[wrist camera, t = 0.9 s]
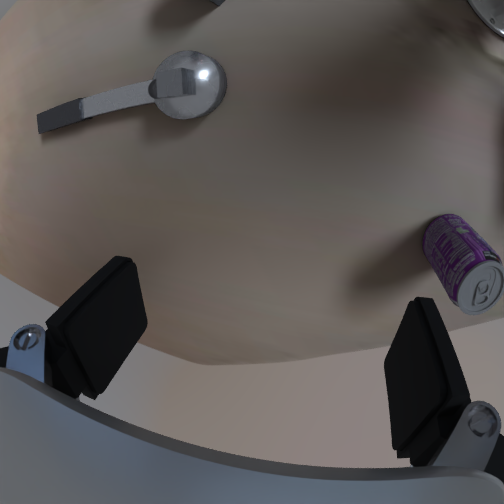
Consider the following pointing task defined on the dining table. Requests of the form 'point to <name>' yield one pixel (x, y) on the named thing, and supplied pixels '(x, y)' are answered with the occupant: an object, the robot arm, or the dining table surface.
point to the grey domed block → (217, 2)
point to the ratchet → (152, 93)
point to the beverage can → (464, 264)
